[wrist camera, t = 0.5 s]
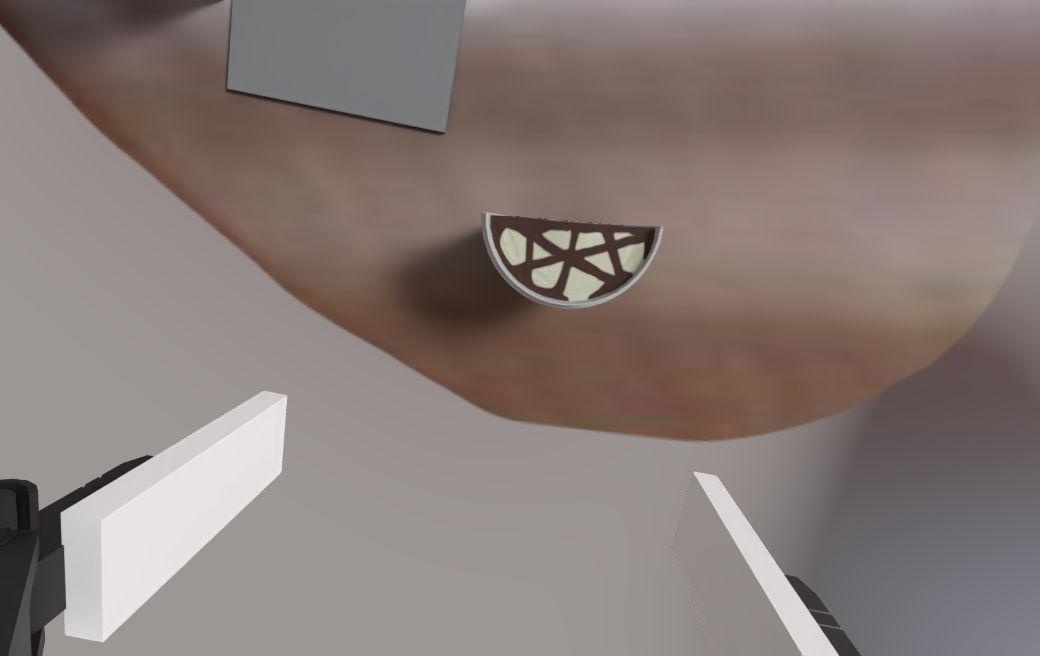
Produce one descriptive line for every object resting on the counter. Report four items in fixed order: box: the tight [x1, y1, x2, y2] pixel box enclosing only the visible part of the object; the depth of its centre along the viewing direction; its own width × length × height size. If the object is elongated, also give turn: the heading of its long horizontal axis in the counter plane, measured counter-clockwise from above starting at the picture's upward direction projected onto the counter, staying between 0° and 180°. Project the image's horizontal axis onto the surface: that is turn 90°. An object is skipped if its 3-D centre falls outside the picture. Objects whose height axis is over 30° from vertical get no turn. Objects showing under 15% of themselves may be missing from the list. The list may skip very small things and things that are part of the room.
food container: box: [481, 212, 664, 309], centre depth 36 cm, size 12×6×10 cm, turn 85°
